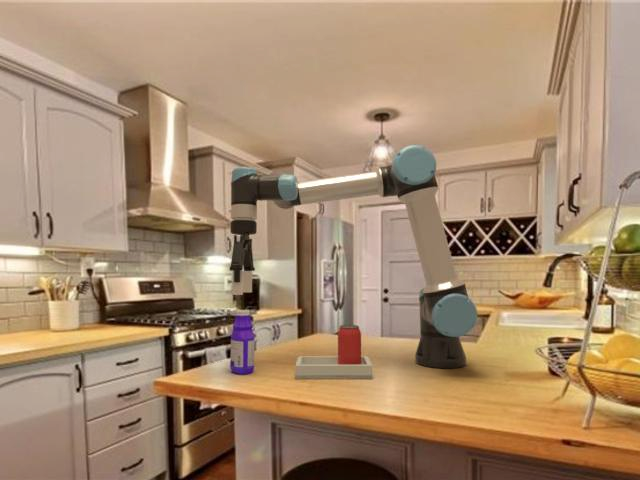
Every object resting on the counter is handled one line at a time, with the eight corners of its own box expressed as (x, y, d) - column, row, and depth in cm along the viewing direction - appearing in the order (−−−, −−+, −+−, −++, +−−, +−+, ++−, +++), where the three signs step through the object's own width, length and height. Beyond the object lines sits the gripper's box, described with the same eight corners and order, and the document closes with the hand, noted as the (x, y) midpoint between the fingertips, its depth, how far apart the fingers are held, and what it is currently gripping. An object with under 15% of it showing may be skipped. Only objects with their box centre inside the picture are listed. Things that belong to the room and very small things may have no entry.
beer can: (349, 373, 110) (349, 328, 111) (333, 369, 115) (332, 326, 116) (366, 369, 114) (365, 326, 115) (349, 365, 119) (349, 324, 120)
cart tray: (367, 368, 120) (367, 356, 121) (372, 379, 108) (372, 365, 108) (298, 368, 121) (298, 356, 121) (295, 379, 109) (295, 365, 109)
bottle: (258, 372, 116) (258, 310, 118) (241, 376, 112) (242, 311, 113) (242, 368, 121) (243, 309, 122) (226, 372, 117) (227, 310, 118)
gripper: (240, 225, 133) (239, 291, 131) (219, 214, 108) (218, 295, 106) (263, 225, 132) (262, 291, 131) (248, 214, 108) (247, 295, 106)
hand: (242, 293), depth 118 cm, fingers open, 13 cm apart
